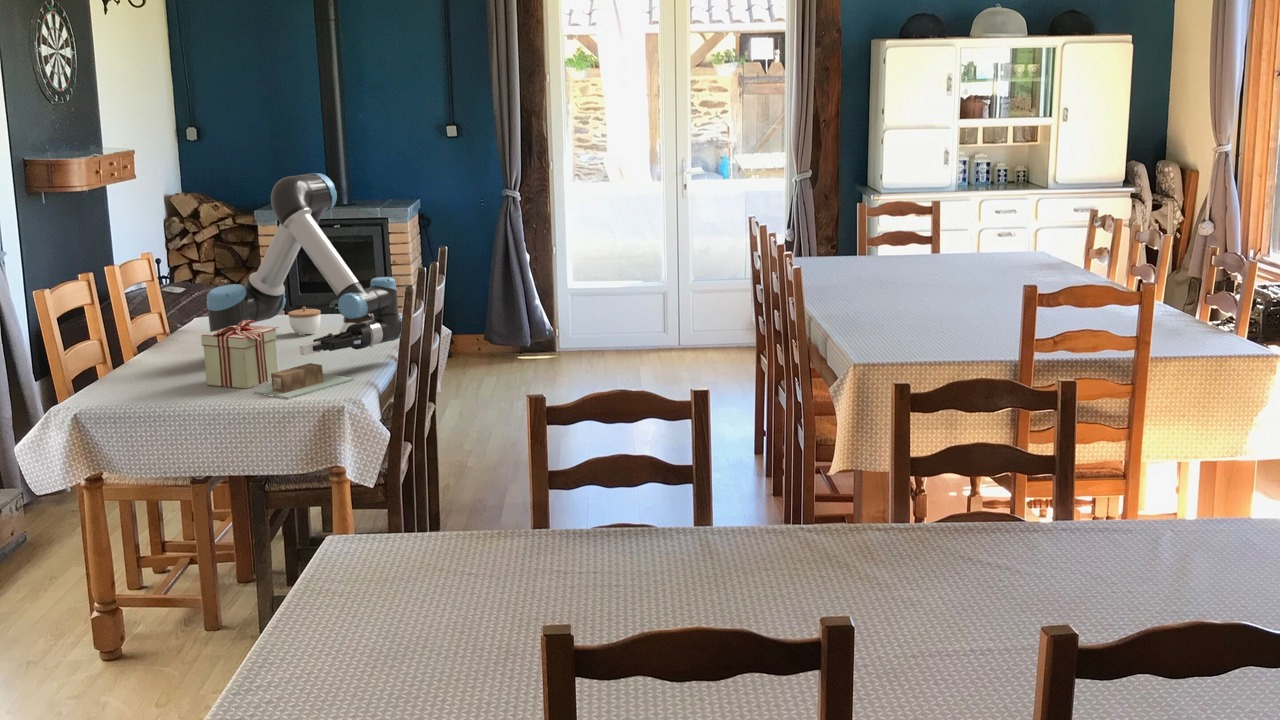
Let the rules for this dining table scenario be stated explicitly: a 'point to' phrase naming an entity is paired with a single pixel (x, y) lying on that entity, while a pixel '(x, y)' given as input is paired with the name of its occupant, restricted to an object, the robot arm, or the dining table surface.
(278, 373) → the walnut block
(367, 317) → the spread jar
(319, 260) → the robot arm
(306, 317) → the lidded jar
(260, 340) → the gift box
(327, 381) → the mat
